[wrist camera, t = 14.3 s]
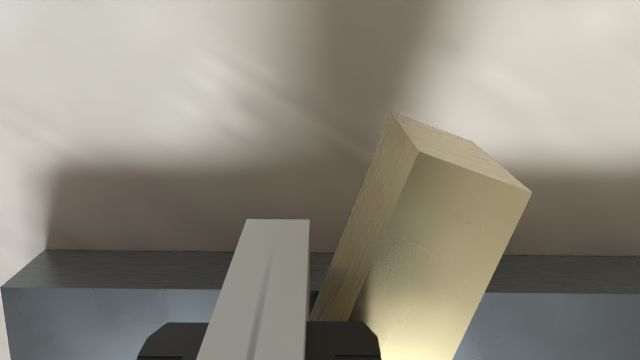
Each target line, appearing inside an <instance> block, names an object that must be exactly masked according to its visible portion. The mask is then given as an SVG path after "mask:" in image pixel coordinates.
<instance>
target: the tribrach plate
mask: <svg viewBox="0 0 640 360" xmlns="http://www.w3.org/2000/svg"><path fill="white" fill-rule="evenodd" d="M234 253H235V252H175V251H84V250H44V251H43V252H42V253H40V254H39V255H38V256H37V257H36V258H34V259H33V260H32V261H31V262H30V263H29V264H27V265H26V266H25V267H24V268H23V269H21V270H20V271H19V272H18V273H17V274H16V275H14V276H13V277H12V278H11V279H10V280H8V281H7V282H6V283H5V284H4V285H3V286H1V287H0V288H1V295H2V301H3V308H4V315H5V322H6V329H7V336H8V343H9V350H10V356H11V360H137V356H138V354H139V352H140V350H141V348H142V346H143V344H144V343H145V341H146V339H147V337H149V336H150V335H151V334H153V333H154V332H155V331H157V330H158V329H159V328H160V327H162V326H163V325H164V324H166V323H167V322H197V323H209V322H210V320H211V317H212V314H213V311H214V308H215V306H216V303H217V300H218V297H219V295H220V292H221V289H222V286H223V283H224V281H225V278H226V275H227V272H228V269H229V267H230V264H231V261H232V258H233V256H234ZM334 254H335V253H310V283H309V317H310V314H311V312H312V309H313V307H314V304H315V302H316V299H317V297H318V294H319V292H320V289H321V287H322V284H323V282H324V279H325V277H326V274H327V272H328V269H329V267H330V264H331V262H332V259H333V257H334ZM452 360H640V257H628V256H537V255H502V257H501V259H500V261H499V263H498V265H497V267H496V270H495V272H494V274H493V276H492V278H491V280H490V282H489V284H488V286H487V288H486V290H485V292H484V295H483V297H482V299H481V301H480V303H479V305H478V307H477V309H476V311H475V313H474V315H473V317H472V319H471V322H470V324H469V326H468V328H467V330H466V332H465V334H464V336H463V338H462V340H461V342H460V344H459V347H458V349H457V351H456V353H455V355H454V357H453V359H452Z"/></svg>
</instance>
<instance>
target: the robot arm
mask: <svg viewBox="0 0 640 360" xmlns="http://www.w3.org/2000/svg"><path fill="white" fill-rule="evenodd" d="M309 283H310V219H246V222H245V225H244V228H243V231H242V233H241V236H240V239H239V242H238V244H237V247H236V250H235V253H234V256H233V258H232V261H231V264H230V267H229V269H228V272H227V275H226V278H225V281H224V283H223V286H222V289H221V292H220V295H219V297H218V300H217V303H216V306H215V308H214V311H213V314H212V317H211V320H210V322H209V323H197V322H167V323H166V324H164V325H163V326H162V327H160V328H159V329H158V330H157V331H155V332H154V333H153V334H151V335H150V336H149V337H147V339H146V341H145V343H144V344H143V346H142V348H141V350H140V352H139V354H138V356H137V360H382V359H381V352H380V346H379V341H378V337H377V336H376V335H375V333H374V332H373V331H372V330H371V329H370V328H369V327H368V326H367V325H366V324H365V323H364V322H363V321H309Z"/></svg>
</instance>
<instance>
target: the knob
mask: <svg viewBox="0 0 640 360" xmlns="http://www.w3.org/2000/svg"><path fill="white" fill-rule="evenodd" d="M532 193H533V192H531V191H530V190H529V189H528V188H527V187H525V186H524V185H523V184H522V183H521V182H520V181H518V180H517V179H516V178H515V177H514V176H512V175H511V174H510V173H509V172H508V171H507V170H505V169H504V168H503V167H502V166H501V165H500V164H498V163H497V162H496V161H495V160H494V159H492V158H491V157H490V156H489V155H488V154H487V153H485V152H484V151H483V150H482V149H481V148H479V147H478V146H477V145H476V144H475V143H474V142H472V141H469V140H466V139H463V138H461V137H458V136H455V135H453V134H450V133H447V132H444V131H442V130H439V129H436V128H433V127H431V126H428V125H425V124H423V123H420V122H417V121H414V120H412V119H409V118H406V117H404V116H401V115H398V114H395V113H393V112H391V114H390V116H389V119H388V121H387V124H386V126H385V129H384V131H383V134H382V136H381V139H380V141H379V144H378V146H377V149H376V151H375V154H374V156H373V159H372V161H371V164H370V166H369V169H368V171H367V174H366V176H365V179H364V181H363V184H362V186H361V189H360V191H359V194H358V196H357V199H356V201H355V204H354V206H353V209H352V211H351V214H350V216H349V219H348V221H347V224H346V226H345V229H344V231H343V234H342V236H341V239H340V242H339V244H338V247H337V249H336V252H335V254H334V257H333V259H332V262H331V264H330V267H329V269H328V272H327V274H326V277H325V279H324V282H323V284H322V287H321V289H320V292H319V294H318V297H317V299H316V302H315V304H314V307H313V309H312V312H311V314H310V317H309V321H363V322H364V323H365V324H366V325H367V326H368V327H369V328H370V329H371V330H372V331H373V332H374V333H375V335H376V336H377V337H378V341H379V346H380V352H381V359H382V360H452V359H453V357H454V355H455V353H456V351H457V349H458V347H459V344H460V342H461V340H462V338H463V336H464V334H465V332H466V330H467V328H468V326H469V324H470V322H471V319H472V317H473V315H474V313H475V311H476V309H477V307H478V305H479V303H480V301H481V299H482V297H483V295H484V292H485V290H486V288H487V286H488V284H489V282H490V280H491V278H492V276H493V274H494V272H495V270H496V267H497V265H498V263H499V261H500V259H501V257H502V255H503V253H504V251H505V249H506V247H507V245H508V243H509V240H510V238H511V236H512V234H513V232H514V230H515V228H516V226H517V224H518V222H519V220H520V218H521V215H522V213H523V211H524V209H525V207H526V205H527V203H528V201H529V199H530V197H531V195H532Z"/></svg>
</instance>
